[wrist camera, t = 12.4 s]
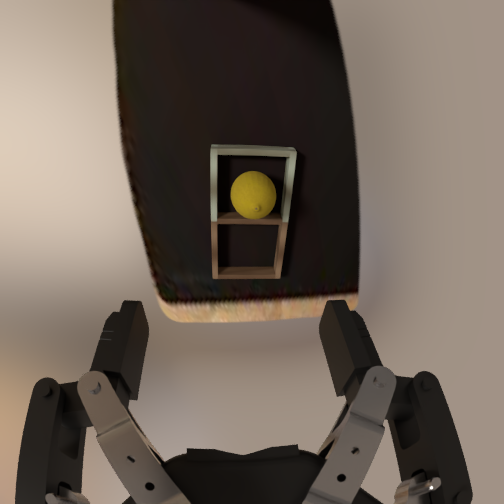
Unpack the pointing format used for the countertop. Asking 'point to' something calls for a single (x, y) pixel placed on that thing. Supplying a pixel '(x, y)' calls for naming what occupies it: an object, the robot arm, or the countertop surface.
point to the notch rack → (236, 218)
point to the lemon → (253, 195)
